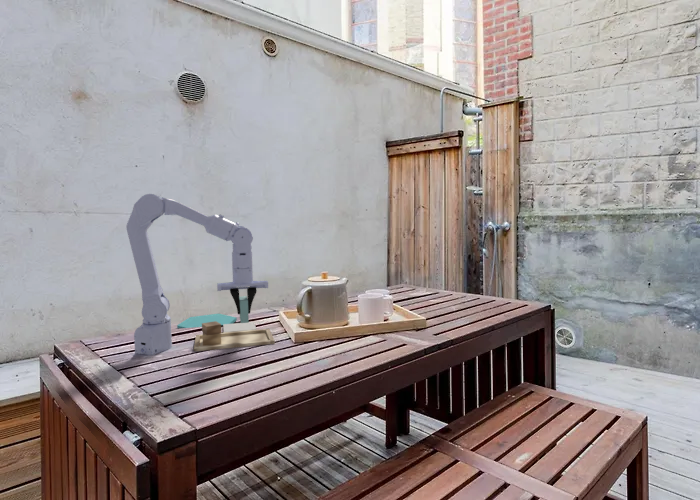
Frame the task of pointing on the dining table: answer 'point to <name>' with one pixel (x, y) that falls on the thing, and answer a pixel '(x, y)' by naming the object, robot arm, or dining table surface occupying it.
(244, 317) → the panel
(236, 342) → the wooden tray
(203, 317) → the plaque
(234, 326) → the tile
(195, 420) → the dining table surface
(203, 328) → the offcut
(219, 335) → the offcut
